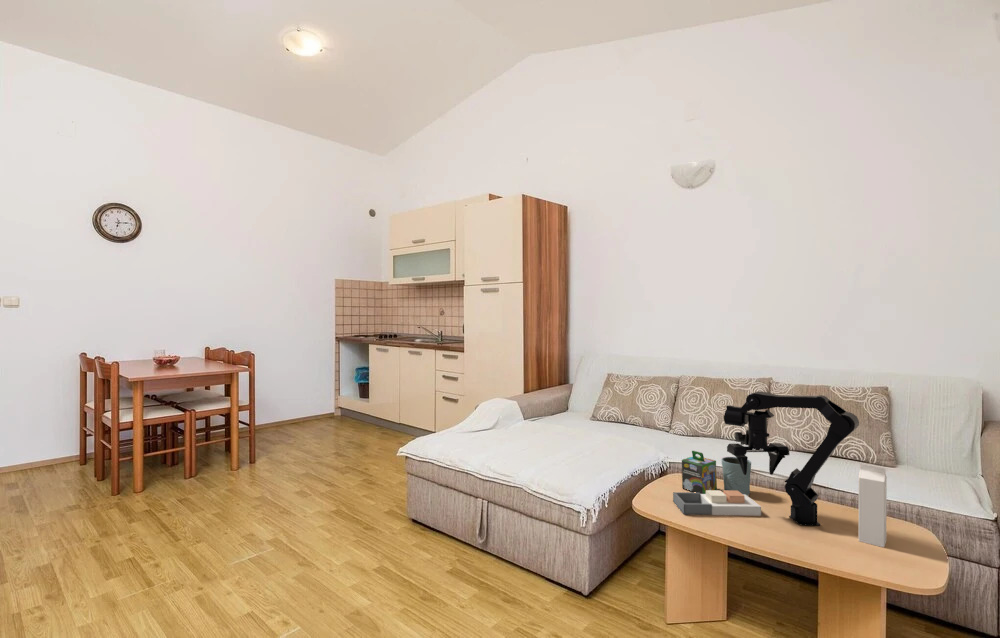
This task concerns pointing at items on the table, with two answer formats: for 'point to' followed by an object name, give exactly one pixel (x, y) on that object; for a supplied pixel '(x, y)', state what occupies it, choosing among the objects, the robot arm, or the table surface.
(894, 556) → the table surface
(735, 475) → the grey-blue cup
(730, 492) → the tile
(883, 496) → the milk
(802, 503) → the robot arm
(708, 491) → the tile
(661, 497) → the table surface
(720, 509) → the board
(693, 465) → the chalk box
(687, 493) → the tray
